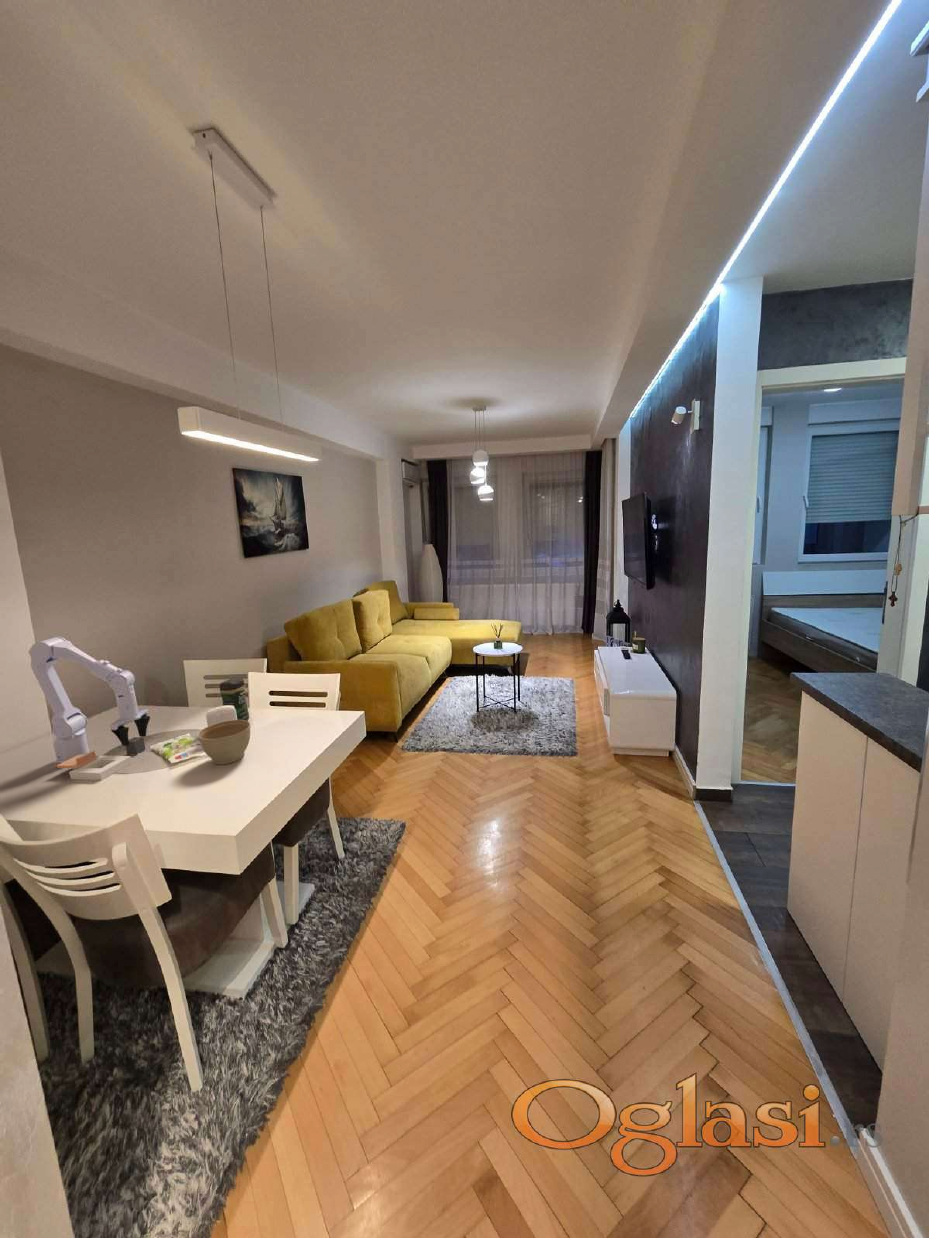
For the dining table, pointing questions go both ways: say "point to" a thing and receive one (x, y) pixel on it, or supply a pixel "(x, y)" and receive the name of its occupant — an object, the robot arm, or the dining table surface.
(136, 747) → the grey block
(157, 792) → the dining table surface
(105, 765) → the socket
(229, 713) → the white rounded block
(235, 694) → the coffee jar
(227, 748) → the planter bowl
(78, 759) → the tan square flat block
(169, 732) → the dining table surface
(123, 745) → the robot arm
